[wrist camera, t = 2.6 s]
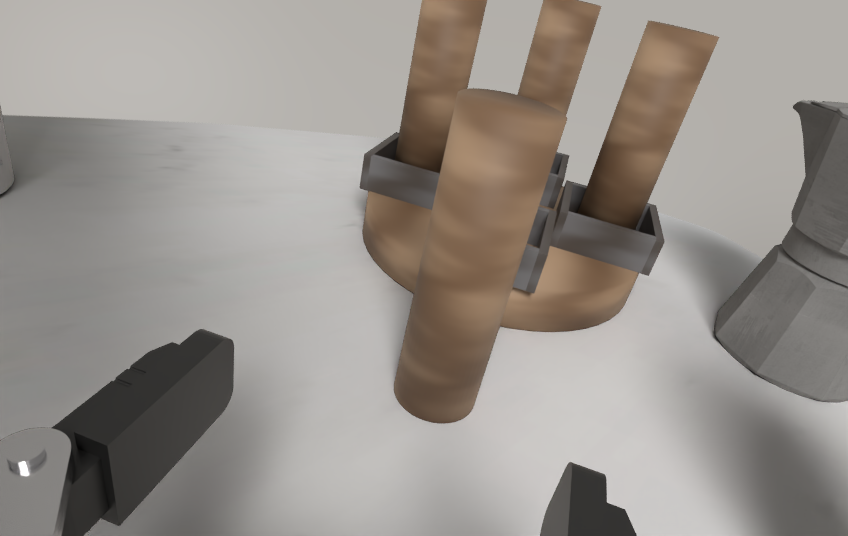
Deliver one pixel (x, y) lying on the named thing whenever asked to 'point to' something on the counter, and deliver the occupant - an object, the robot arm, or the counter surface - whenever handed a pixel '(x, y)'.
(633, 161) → the stool seat
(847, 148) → the coffeepot
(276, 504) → the counter surface
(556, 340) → the counter surface
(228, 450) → the counter surface
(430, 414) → the loose leg
